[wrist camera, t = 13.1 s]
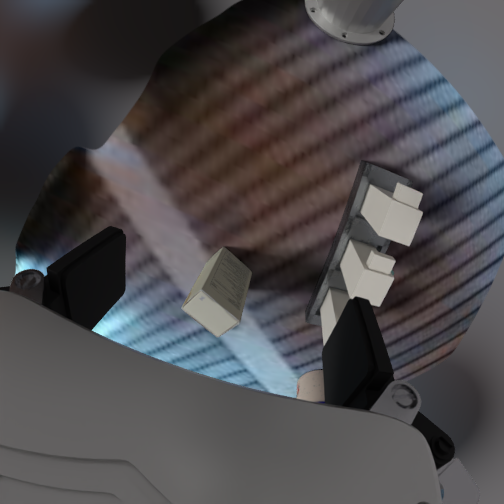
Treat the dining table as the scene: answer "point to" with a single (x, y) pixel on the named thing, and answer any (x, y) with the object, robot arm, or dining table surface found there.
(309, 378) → the teacup with lid
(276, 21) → the dining table surface
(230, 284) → the skincare box
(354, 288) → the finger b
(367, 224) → the rail
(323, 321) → the finger loose
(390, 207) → the cream block teal side
